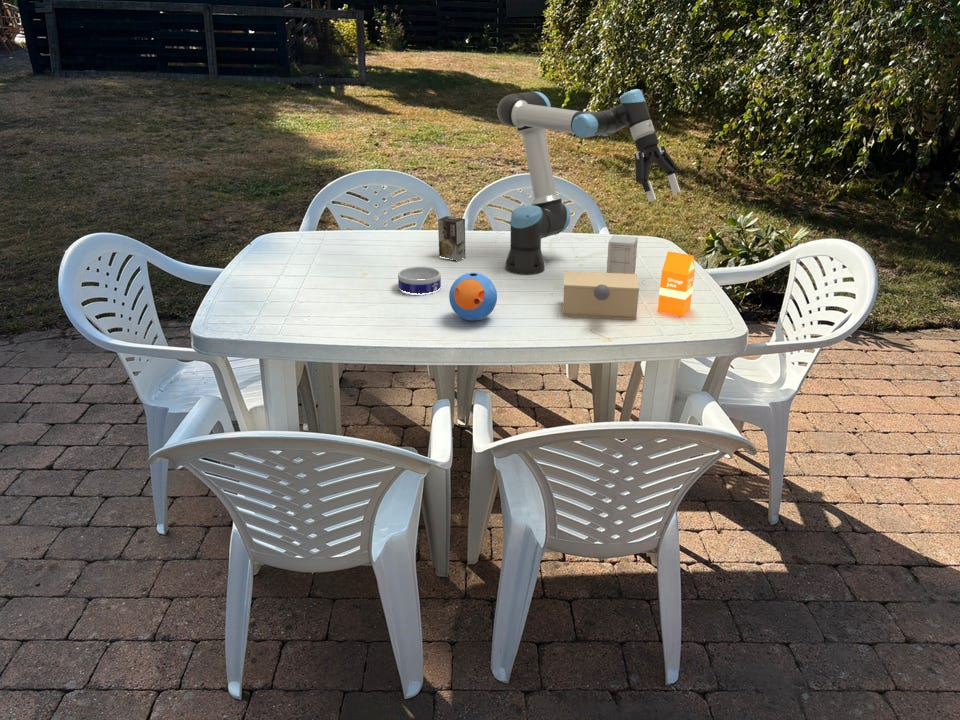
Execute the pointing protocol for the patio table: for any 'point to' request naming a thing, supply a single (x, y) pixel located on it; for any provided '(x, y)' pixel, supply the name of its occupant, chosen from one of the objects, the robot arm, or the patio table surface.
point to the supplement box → (622, 254)
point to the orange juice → (676, 284)
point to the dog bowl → (412, 285)
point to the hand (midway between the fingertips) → (665, 196)
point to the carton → (600, 304)
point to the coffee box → (451, 237)
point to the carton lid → (601, 282)
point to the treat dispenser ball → (473, 296)
